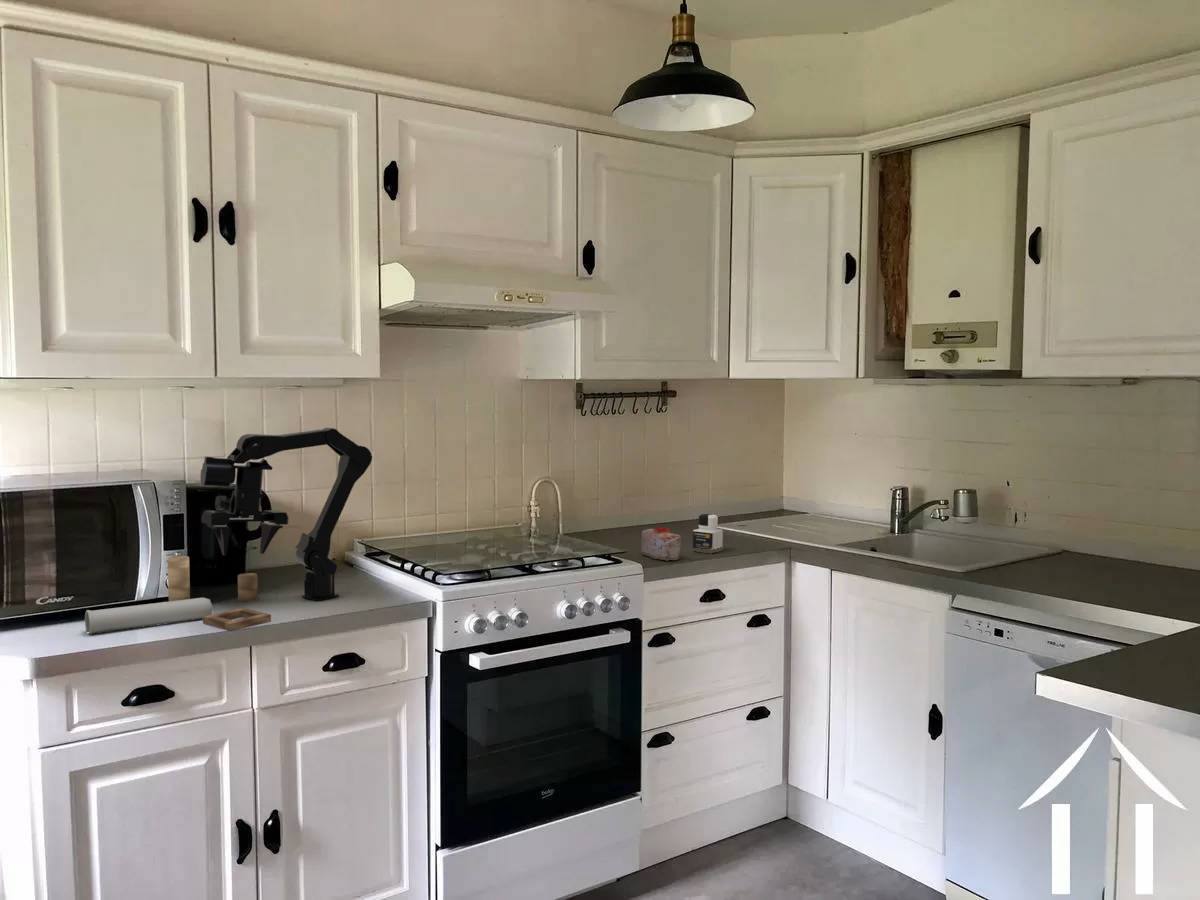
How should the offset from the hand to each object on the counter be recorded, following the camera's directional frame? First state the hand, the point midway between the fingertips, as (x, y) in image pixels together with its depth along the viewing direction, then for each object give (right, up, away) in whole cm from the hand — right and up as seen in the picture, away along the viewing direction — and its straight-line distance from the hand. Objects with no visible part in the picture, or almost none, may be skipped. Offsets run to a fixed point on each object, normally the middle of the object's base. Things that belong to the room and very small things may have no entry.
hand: (243, 554), depth 215 cm
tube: (-14, -14, -16) cm, 25 cm away
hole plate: (+4, -13, -13) cm, 19 cm away
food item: (+102, -9, +67) cm, 122 cm away
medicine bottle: (+118, -8, +79) cm, 142 cm away
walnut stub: (-2, -12, +8) cm, 15 cm away
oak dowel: (-12, -13, -7) cm, 19 cm away
